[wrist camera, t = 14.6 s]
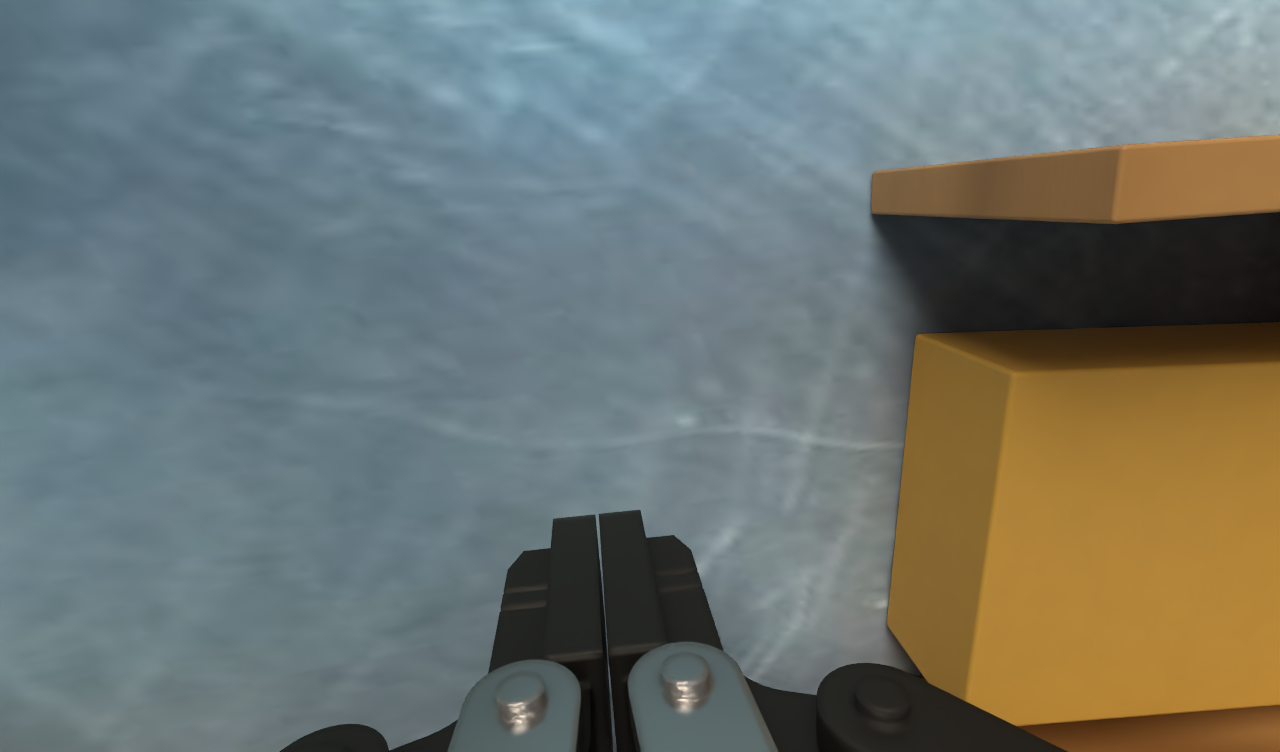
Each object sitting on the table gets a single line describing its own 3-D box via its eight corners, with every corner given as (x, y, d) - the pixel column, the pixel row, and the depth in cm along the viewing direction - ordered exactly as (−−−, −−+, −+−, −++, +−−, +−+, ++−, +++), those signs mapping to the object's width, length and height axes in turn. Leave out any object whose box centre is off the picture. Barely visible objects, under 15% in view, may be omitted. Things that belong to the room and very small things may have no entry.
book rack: (855, 710, 16) (1012, 1006, 10) (871, 171, 12) (1122, 144, 7) (1274, 660, 16) (1650, 909, 11) (1398, 136, 13) (2044, 84, 7)
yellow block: (884, 624, 15) (961, 733, 12) (914, 332, 13) (1013, 372, 10) (1238, 601, 16) (1397, 697, 13) (1313, 320, 14) (1519, 353, 11)
